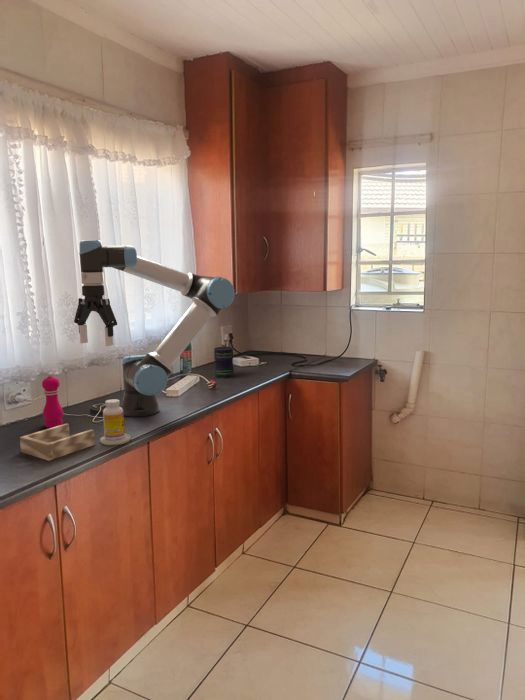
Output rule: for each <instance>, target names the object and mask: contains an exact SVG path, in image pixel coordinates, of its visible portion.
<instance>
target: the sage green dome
mask: <svg viewBox="0 0 525 700" xmlns="http://www.w3.org/2000/svg"><path fill="white" fill-rule="evenodd" d="M131 440H132V437H131V435H130V434H128V433H125V436H124V437H123V438H122V439H118V440H107V439H105V437H104V435H103V436H101V437H100V439H99V441H100V442H99V443H100V444H101V445H102V446H103V445H104V446H120V445H125V444H127V443H129V442H131Z"/></svg>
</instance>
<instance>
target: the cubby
mask: <svg viewBox="0 0 525 700" xmlns="http://www.w3.org/2000/svg"><path fill="white" fill-rule="evenodd" d="M95 441H96V439H95V430H94V429H88V430H85V431H82V432H79V433H75V434H72V435H71V434H70V424H69V423H63V424H62V425H59V426H56V427H52V428H46V429H42V430H39V431H35V432H32V433H29V434H26V435H25V434H24V435H23V436H19V443H20V444H19V445H20V453H23V454H26V455H28V456H29V455H30V456H33V457H35V458H39V459H43V460H45V461H49V462H50V461H52V460H55V459H58V458H61V457H64V456H67V455H69V454H72V453H74V452H75V453H76V452H79V451H81V450H84V449H87V448H89V447H93V446H95V445H96V442H95Z"/></svg>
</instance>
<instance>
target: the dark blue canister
mask: <svg viewBox="0 0 525 700" xmlns="http://www.w3.org/2000/svg"><path fill="white" fill-rule="evenodd" d="M213 350H214V352H213V357H214V374H215V375H214V378H216V379H223V380H224V379H232V378H234V362H233V361H234V360H233V359H234V351H233V350H234V348H233V347H232V346H219V347H214V349H213Z"/></svg>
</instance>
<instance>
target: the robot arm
mask: <svg viewBox="0 0 525 700" xmlns="http://www.w3.org/2000/svg"><path fill="white" fill-rule="evenodd" d="M78 254H79V266H80V277H81V278H80V279H81V284H82V285H81V294H82V296H83V297H79V298H78V300H77V301H78V305H77V307H76V311H75V316H74V320H73V322H74V323H75V324H77V326H78V334H79V340H80V344H86V343H88V342H89V341H88V325H87V323H86V322H87V320H88V319H89V316H90V314H91V313H92V312H95V313H97V315H99V317H100V319H101V321H102V322H103V323H104V325H105V326H104V335H105V336H104V339H105V347H111V346H114V339H113V338H114V327H116V326H117V325H118V322H117V321H118V320H117V319H116V316H115V314H114V312H113V308H112V306H111V301H110V298H103V296H105V286H104V283H105V281H104V279H105V278H104V268H113V269H115V270H118V271H123V272H124V273H127V274H130V275H133V276H134V277H135V276H136V277H138V278H141V279H144V280H147V281H149V282H152V283H155V284H158V285H161V286H164V287H166V288H169V289H171V290H175V291H178V292H180V294H181V295H182V296H184V297H186V298H189V299H192V304H191V305H190V306H189V307H188V309H187V310H186V311H185V312H184V314H183V315H182V316H181V318H180V319H179V320H178V321H177V323H176V324H175V325H174V326H173V328H172V329H171V330H170V331H169V332H168V334H167V335H166V336H165V338H164V339H163V340H162V341H161V343H159V345H158V346H157V348H156V349H154V351H153V352H152V351H151V352H147V353H146V354H139V355H130V356H129V355H128V356H127V355H126V356H123V358H122V362H121V363H122V364H121V366H122V379H123V380H122V381H123V398H122V403H121V405H120V407H121V408H122V409H123V416H125V417H132V418H133V417H137V418H138V417H145V416H146V417H147V416H152V415H155V414H157V413H158V412H159V411H160V406H159V405H160V404H159V403H158V401H157V400H158V399H157V397H156V395H158V394H160V393H162V392H163V391H164V389H165V388H166V387H167V384H168V378H169V377H170V376H171V374H172V373H173V365H174V364H175V363H176V361H177V360H178V359H179V357H180V356H181V355H182V354H183V352H184V351H185V350H186V348H188V346H189V345H191V344H190V343H192V342H193V340H194V339H195V337H196V336H197V335H198V334H199V332H200V331H201V330H202V328H203V327H204V326H205V325H206V324H207V322H208V321H209V319H211V318H213V317H214V318H215V317H217V316H218V315H219V313H220V312H221V311H222V310H223V309H226V308H227V307H230V305H231V304H232V303H233V301H234V299H235V293H236V292H235V288H234V286H233V284H232V282H231V281H230V280H228V279H227V278H225V277H222V276H206V275H199V274H195V273H193V272H188V273H184V272H182V271H179V270H177V269H174V268H172V267H168V266H166V265H163V264H160V263H159V262H155V261H154V260H153V261H152V260H150V259H147V258H144V257H142V256H139V255H138V253H137V249H136V247H135V246H133V245H103V244H102V240H100V239H86V240H85V239H84V240H83V239H82V240H81V241H80V242H79V253H78Z"/></svg>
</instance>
